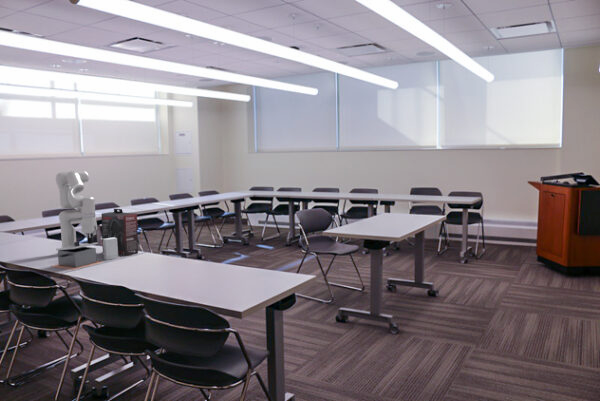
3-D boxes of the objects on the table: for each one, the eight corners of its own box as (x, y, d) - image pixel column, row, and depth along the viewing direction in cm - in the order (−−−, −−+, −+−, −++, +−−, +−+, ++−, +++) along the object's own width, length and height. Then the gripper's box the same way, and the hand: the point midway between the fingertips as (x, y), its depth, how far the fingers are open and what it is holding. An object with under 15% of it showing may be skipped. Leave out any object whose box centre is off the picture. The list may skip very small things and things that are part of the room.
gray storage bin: (53, 266, 306) (52, 251, 305) (84, 259, 328) (83, 245, 327) (70, 269, 299) (69, 253, 298) (101, 261, 321) (100, 247, 320)
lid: (56, 250, 308) (55, 245, 308) (80, 245, 324) (79, 240, 324) (74, 248, 300) (73, 243, 300) (98, 243, 317) (97, 238, 316)
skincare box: (115, 257, 336) (114, 236, 334) (118, 259, 331) (117, 238, 329) (103, 259, 330) (102, 238, 329) (106, 260, 326) (105, 239, 324)
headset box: (101, 253, 351) (100, 208, 348) (115, 250, 362) (114, 206, 359) (125, 256, 340) (123, 210, 337) (139, 253, 351) (137, 208, 348)
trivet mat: (50, 267, 308) (50, 266, 307) (82, 259, 329) (82, 258, 329) (72, 270, 298) (72, 269, 298) (103, 262, 320) (103, 262, 320)
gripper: (76, 215, 315) (77, 243, 316) (92, 217, 308) (93, 245, 310) (86, 214, 321) (87, 241, 323) (101, 215, 315) (103, 243, 317)
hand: (90, 243), depth 316 cm, fingers closed
